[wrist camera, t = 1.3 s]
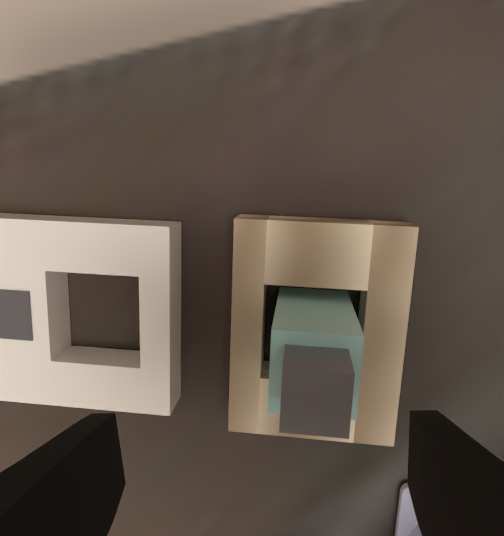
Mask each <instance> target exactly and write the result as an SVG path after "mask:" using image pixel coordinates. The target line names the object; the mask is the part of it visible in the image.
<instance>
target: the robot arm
mask: <svg viewBox="0 0 504 536" xmlns="http://www.w3.org/2000/svg"><path fill="white" fill-rule="evenodd" d="M124 486H125V477H124V470H123V463H122V456H121V449H120V443H119V436H118V429H117V422H116V416H115V413H100V414H90V415H88V416H87V417H85V418H83V419H81V420H80V421H78V422H77V423H75V424H74V425H72V426H71V427H69V428H68V429H66V430H65V431H63V432H62V433H60V434H59V435H57V436H56V437H54V438H53V439H51V440H50V441H48V442H47V443H45V444H44V445H42V446H41V447H39V448H38V449H36V450H35V451H33V452H32V453H30V454H29V455H27V456H26V457H24V458H23V459H21V460H20V461H18V462H17V463H15V464H13V465H12V466H10V467H9V468H7V469H5V470H4V471H2V472H1V473H0V536H107V534H108V532H109V530H110V527H111V525H112V523H113V520H114V517H115V514H116V511H117V508H118V505H119V502H120V499H121V496H122V493H123V489H124ZM395 536H504V462H503V461H501V460H500V459H499V458H497V457H496V456H495V455H493V454H492V453H491V452H489V451H488V450H487V449H485V448H484V447H483V446H482V445H480V444H479V443H478V442H476V441H475V440H474V439H473V438H471V437H470V436H469V435H468V434H466V433H465V432H464V431H463V430H461V429H460V428H459V427H458V426H456V425H455V424H454V423H453V422H451V421H450V420H449V419H447V418H446V417H445V416H444V415H442V414H441V413H440V412H438V411H437V410H428V411H410V427H409V456H408V482H407V483H405V484H403V485H402V486H401V489H400V495H399V503H398V511H397V519H396V528H395Z"/></svg>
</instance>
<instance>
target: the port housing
mask: <svg viewBox="0 0 504 536" xmlns="http://www.w3.org/2000/svg"><path fill="white" fill-rule="evenodd" d="M68 272H70V273H86V274H102V275H119V276H135V277H139V316H140V351H136V350H123V349H110V348H97V347H85V346H72V345H71V327H70V308H69V289H68ZM180 396H181V222H176V221H156V220H135V219H115V218H94V217H74V216H54V215H33V214H13V213H0V401H11V402H22V403H33V404H44V405H55V406H66V407H77V408H88V409H98V410H109V411H120V412H131V413H142V414H153V415H164V416H170V415H171V413H172V411H173V409H174V408H175V406H176V404H177V402H178V400H179V398H180Z"/></svg>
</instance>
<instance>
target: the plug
mask: <svg viewBox="0 0 504 536" xmlns="http://www.w3.org/2000/svg"><path fill="white" fill-rule="evenodd" d="M363 346H364V334H363V331H362V329H361V326H360V323H359V321H358V318H357V315H356V313H355V310H354V307H353V305H352V302H351V299H350V297H349V294H348V291H336V290H320V289H304V288H288V287H279V293H278V298H277V303H276V308H275V313H274V318H273V323H272V329H271V346H270V367H269V388H268V409H267V413H275V414H280V423H279V433H290V434H301V435H312V436H322V437H333V438H344V439H349V434H350V423H351V420H354V421H356V420H357V410H358V399H359V388H360V378H361V367H362V356H363Z"/></svg>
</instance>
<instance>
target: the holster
mask: <svg viewBox="0 0 504 536" xmlns="http://www.w3.org/2000/svg"><path fill="white" fill-rule="evenodd" d="M418 231H419V227H418V226H416V225H413V224H411V223H409V222H402V221H381V220H360V219H338V218H317V217H295V216H274V215H252V214H239V215H238V216H237V217H235V218H234V234H233V270H232V307H231V343H230V379H229V416H228V431H233V432H244V433H254V434H265V435H276V436H286V437H297V438H307V439H318V440H329V441H339V442H350V443H361V444H371V445H382V446H393V447H394V440H395V431H396V422H397V413H398V405H399V396H400V387H401V379H402V370H403V361H404V352H405V344H406V335H407V326H408V318H409V309H410V300H411V292H412V283H413V274H414V265H415V257H416V248H417V239H418ZM267 285H281V286H297V287H313V288H330V289H346V290H361V292H360V303H359V314H358V321H359V323H360V326H361V329H362V331H363V334H364V346H363V356H362V367H361V378H360V388H359V399H358V410H357V420H356V421H354V420H351V423H350V434H349V439H344V438H333V437H322V436H312V435H301V434H290V433H279V423H280V414H275V413H267V409H268V388H269V367H270V361H264V343H265V321H266V298H267Z"/></svg>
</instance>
